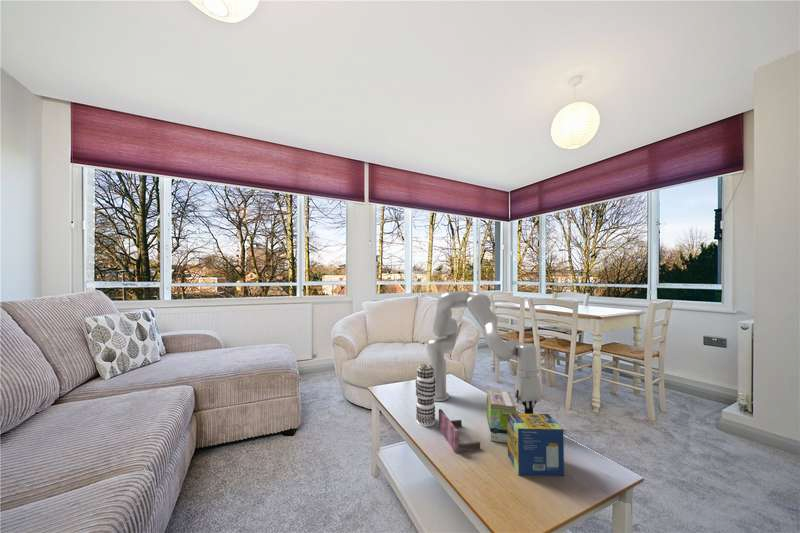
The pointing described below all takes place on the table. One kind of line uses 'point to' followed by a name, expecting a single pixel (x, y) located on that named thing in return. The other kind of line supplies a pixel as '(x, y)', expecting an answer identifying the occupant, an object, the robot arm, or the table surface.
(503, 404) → the tea box
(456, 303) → the robot arm
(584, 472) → the table surface
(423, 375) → the decorative candle
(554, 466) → the protein box
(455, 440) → the stand
